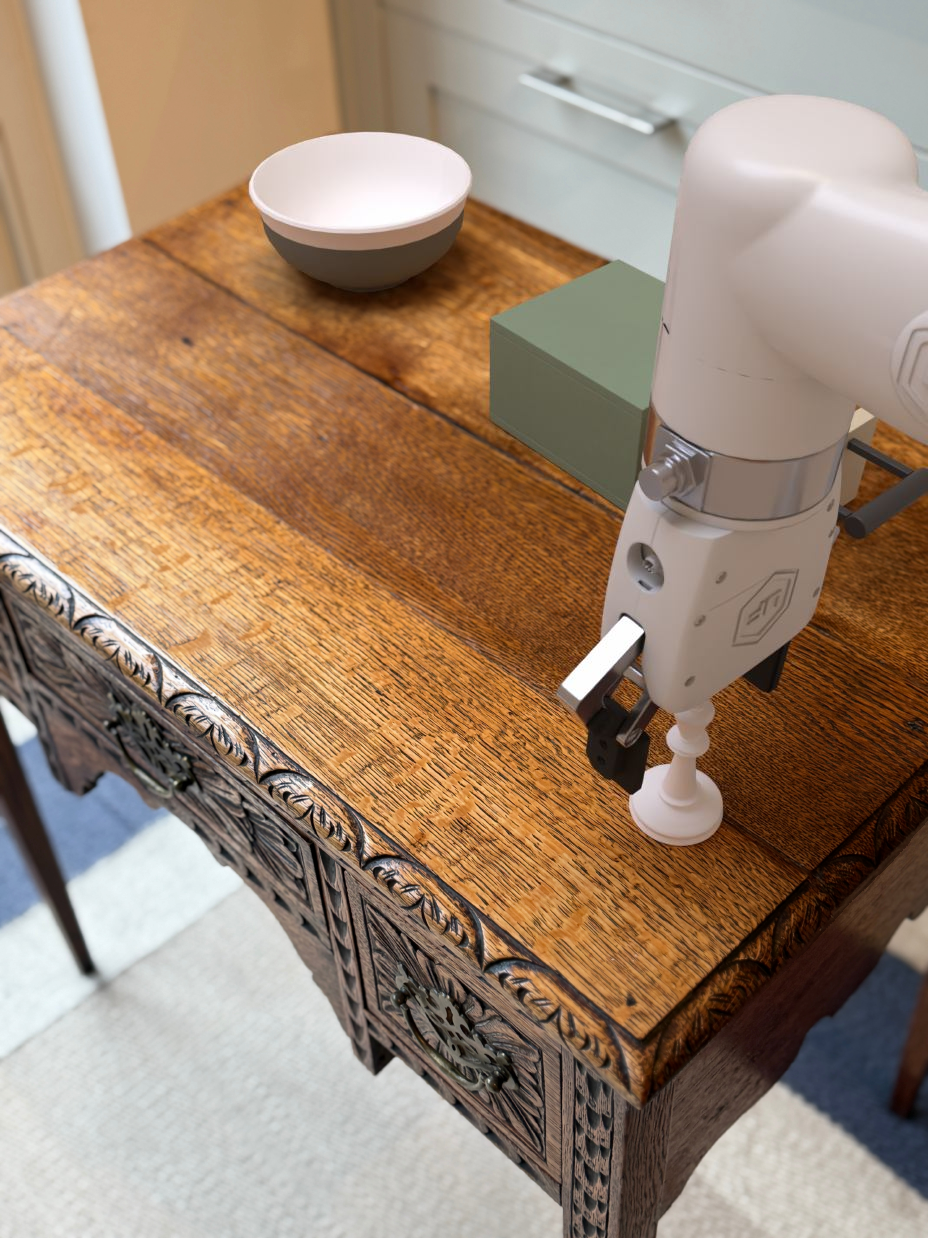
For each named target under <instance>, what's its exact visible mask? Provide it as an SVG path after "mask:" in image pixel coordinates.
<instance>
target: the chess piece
mask: <svg viewBox="0 0 928 1238" xmlns="http://www.w3.org/2000/svg"><path fill="white" fill-rule="evenodd" d="M715 714H716V708H715V706H714V703H713V702H712V701H711V700H710V698H709V699H708V700H706V701H705V702H703V703H702V704H700V705H699V706H697V707H695V708H693V709H691V710H688V711H685V712H681V713H673V717H674V719H675V723H676V724H674V725H673V726H672V727H671V728H670V729H669V730H668V731H667V734H666V737H665V741H666V745H667V747H668V748H669V749H670V750H671V751H672V752H673V757H672V759H671V761H670V763H664V764H659V765H655V766H653V767H650V768H649V769H646V770H645V774H644V779H643V784H642V788H641V789H640V790H639V791H637V792H636V793H635V794H633V795H630V794H629V798H628V808H629V813H630V816H631V818H632V820H633V822H634V823H635V825H636V826H637V827H638V828H639V829H640V830H641V831H642V832H643V833H644V834H645V835H647V836H648V837H650V838H651V839H653V840H655V841H656V842H660V843H662V844H666V845H671V846H678V847H683V846H684V847H685V846H693V845H697V844H699V843H703V842H704V841H706V840H709V838H710V837H712V836H713V835H714V834H715V833H716V832H717V830H718V829H719V828H720V826H721V823H722V821H723V818H724V817H723V816H724V801H723V796H722V794H721V791H720V789H719V787H718V786H717V784H716V783H715V782H714V780H712V778H710V777H709V776H708V775H707V774H706V773H704V772H702V771H701V770H699V769H697V758H698V757H701V756H703V755H704V754H706V753H707V752H708V750H709V748H710V745H711V741H710V740H711V739H710V736H709V734H708V732H707V731H706V728H707V727H708V726H709V725H710V723H711V722H712V721H713V720H714V717H715Z"/></svg>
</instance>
